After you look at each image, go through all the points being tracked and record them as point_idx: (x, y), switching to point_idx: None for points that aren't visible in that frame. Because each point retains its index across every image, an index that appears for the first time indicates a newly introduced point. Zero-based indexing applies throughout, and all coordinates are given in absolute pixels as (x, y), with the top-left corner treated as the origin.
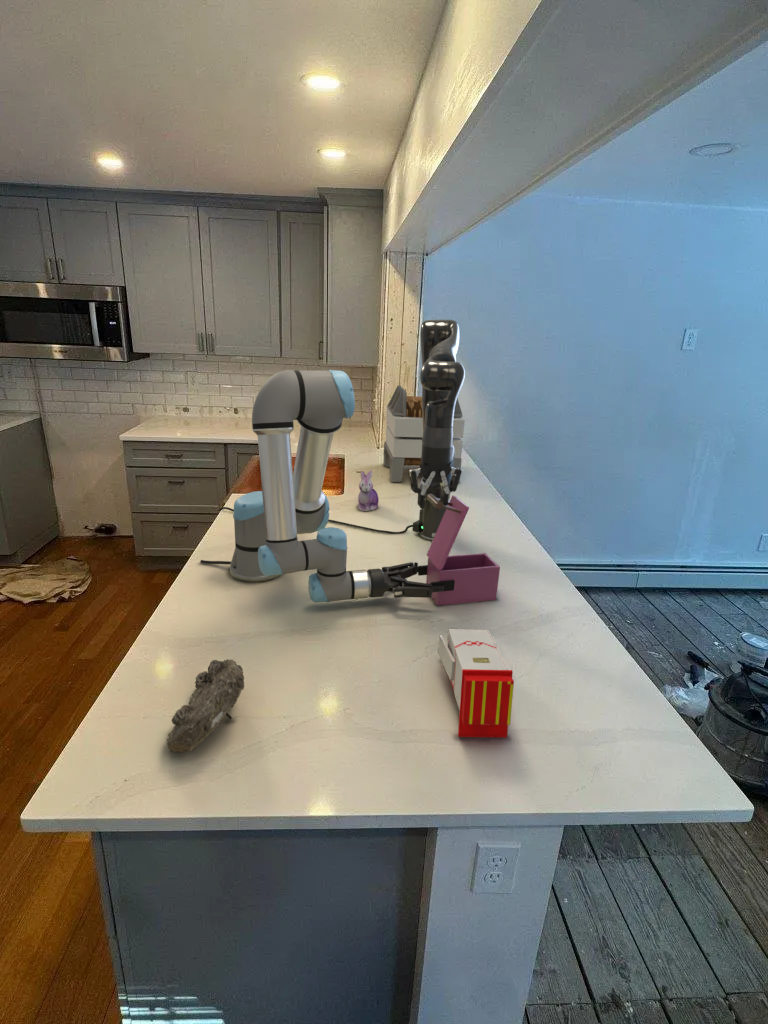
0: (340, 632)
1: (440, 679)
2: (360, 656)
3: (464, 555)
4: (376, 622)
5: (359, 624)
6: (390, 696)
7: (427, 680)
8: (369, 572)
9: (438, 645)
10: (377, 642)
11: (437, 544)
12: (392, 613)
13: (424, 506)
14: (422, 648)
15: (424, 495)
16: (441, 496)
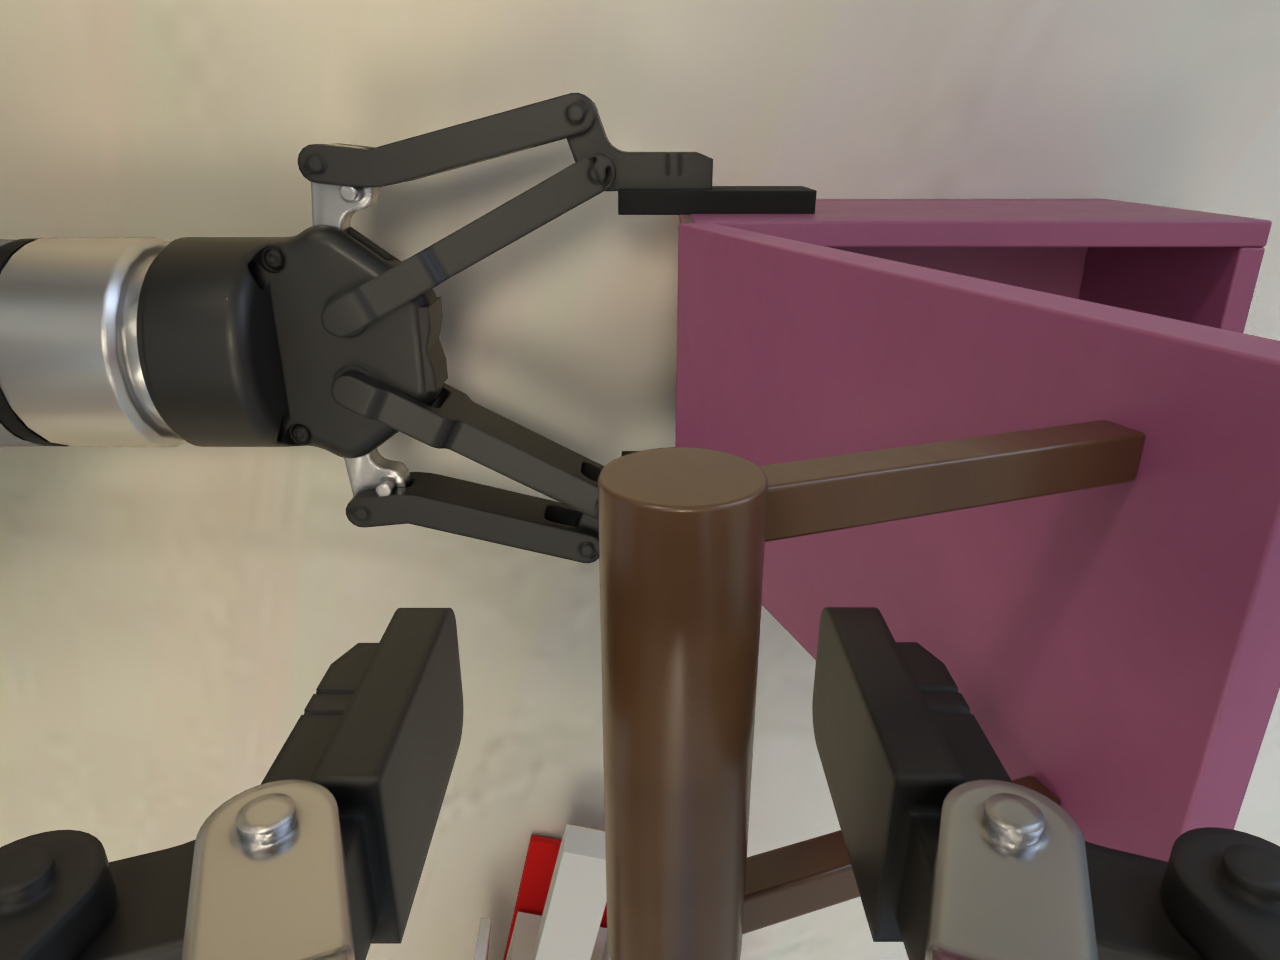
0: (96, 570)
1: (486, 916)
2: (190, 751)
3: (1045, 242)
4: (289, 518)
5: (196, 519)
6: None
7: (436, 912)
8: (144, 374)
9: (476, 947)
10: (275, 675)
11: (745, 376)
12: (392, 448)
13: (451, 760)
14: (472, 748)
15: (377, 941)
16: (865, 748)
